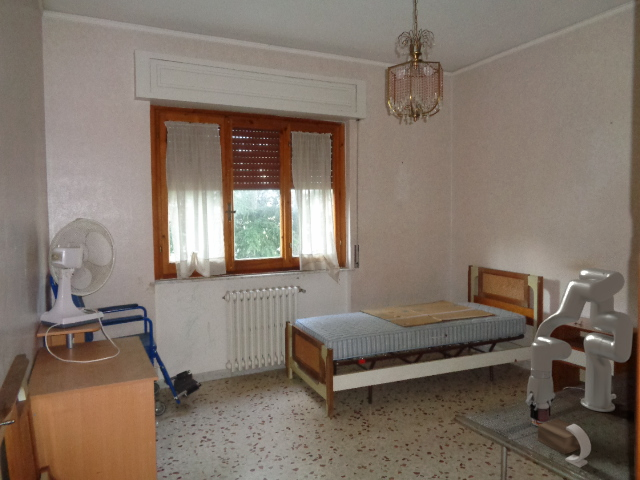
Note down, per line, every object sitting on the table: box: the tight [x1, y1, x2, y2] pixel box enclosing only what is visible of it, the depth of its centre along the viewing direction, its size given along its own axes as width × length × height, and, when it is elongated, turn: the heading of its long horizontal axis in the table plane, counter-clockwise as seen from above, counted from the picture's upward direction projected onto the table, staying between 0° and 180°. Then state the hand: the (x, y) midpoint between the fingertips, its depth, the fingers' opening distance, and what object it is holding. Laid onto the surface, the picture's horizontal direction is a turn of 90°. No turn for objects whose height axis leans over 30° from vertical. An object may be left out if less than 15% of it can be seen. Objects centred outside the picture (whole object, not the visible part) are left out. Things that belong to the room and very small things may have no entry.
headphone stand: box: [564, 423, 592, 468], centre depth 159 cm, size 5×6×12 cm
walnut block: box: [537, 418, 587, 455], centre depth 172 cm, size 11×11×6 cm
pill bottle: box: [531, 399, 550, 427], centre depth 187 cm, size 6×6×11 cm
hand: (540, 416), depth 187 cm, fingers closed on pill bottle, 6 cm apart
